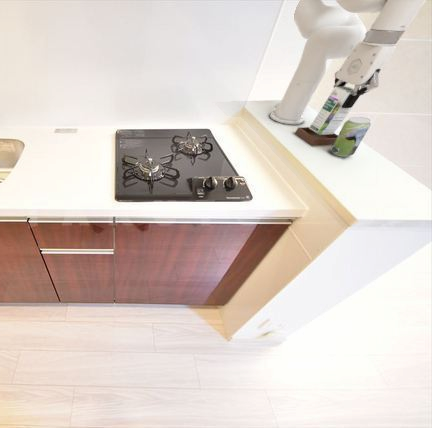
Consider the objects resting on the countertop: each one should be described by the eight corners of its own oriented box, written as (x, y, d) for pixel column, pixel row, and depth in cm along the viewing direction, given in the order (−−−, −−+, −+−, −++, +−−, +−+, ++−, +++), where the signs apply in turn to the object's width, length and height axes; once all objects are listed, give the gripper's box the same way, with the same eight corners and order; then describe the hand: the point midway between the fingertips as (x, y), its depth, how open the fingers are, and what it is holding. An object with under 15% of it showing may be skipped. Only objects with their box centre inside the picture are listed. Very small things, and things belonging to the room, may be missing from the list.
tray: (294, 133, 90) (298, 127, 88) (319, 132, 90) (323, 126, 89) (311, 145, 83) (316, 139, 81) (338, 144, 83) (343, 138, 82)
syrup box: (307, 128, 86) (333, 86, 76) (322, 127, 87) (350, 85, 76) (318, 135, 82) (347, 91, 72) (334, 134, 83) (364, 91, 72)
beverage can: (354, 159, 76) (384, 124, 68) (330, 157, 77) (356, 122, 69) (345, 150, 80) (371, 115, 72) (321, 148, 82) (345, 114, 73)
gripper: (345, 34, 71) (310, 96, 84) (398, 43, 59) (348, 114, 71) (368, 33, 71) (330, 95, 84) (425, 42, 59) (371, 113, 72)
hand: (339, 103), depth 78 cm, fingers closed on syrup box, 5 cm apart
